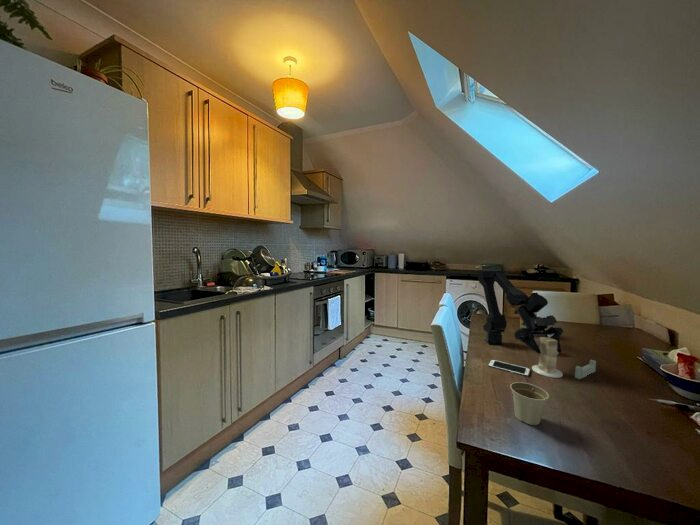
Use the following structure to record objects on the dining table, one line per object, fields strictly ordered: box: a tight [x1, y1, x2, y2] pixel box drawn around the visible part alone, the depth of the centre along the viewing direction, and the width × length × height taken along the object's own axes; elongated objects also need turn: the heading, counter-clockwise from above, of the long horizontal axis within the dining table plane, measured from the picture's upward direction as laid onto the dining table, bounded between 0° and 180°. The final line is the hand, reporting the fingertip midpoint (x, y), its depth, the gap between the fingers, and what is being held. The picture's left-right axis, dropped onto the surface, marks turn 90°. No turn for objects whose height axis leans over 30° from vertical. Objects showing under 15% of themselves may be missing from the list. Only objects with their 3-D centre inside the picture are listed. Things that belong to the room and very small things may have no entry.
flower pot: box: [509, 381, 550, 426], centre depth 78 cm, size 9×9×9 cm
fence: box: [574, 359, 597, 380], centre depth 105 cm, size 2×14×4 cm, turn 118°
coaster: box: [531, 364, 564, 379], centre depth 107 cm, size 10×10×1 cm
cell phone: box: [487, 358, 531, 378], centre depth 110 cm, size 8×15×1 cm, turn 52°
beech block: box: [538, 336, 558, 373], centre depth 107 cm, size 4×4×13 cm
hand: (550, 352), depth 106 cm, fingers open, 9 cm apart
